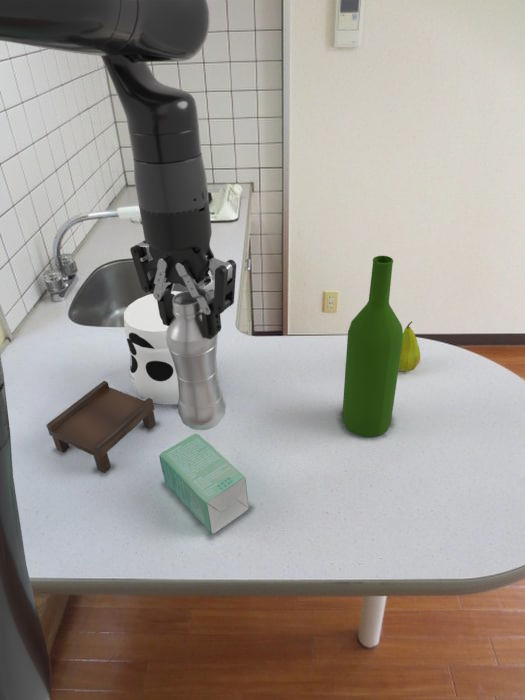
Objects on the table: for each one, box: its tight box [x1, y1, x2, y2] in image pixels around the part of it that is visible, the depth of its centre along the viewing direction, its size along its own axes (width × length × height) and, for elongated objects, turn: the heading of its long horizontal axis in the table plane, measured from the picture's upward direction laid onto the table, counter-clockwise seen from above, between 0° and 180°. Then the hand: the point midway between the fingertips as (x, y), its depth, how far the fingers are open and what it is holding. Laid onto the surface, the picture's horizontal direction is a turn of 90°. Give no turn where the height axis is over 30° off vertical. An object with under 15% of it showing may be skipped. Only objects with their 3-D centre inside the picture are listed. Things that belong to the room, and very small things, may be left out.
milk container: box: [123, 290, 182, 407], centre depth 103 cm, size 17×17×18 cm
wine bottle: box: [341, 255, 404, 438], centre depth 88 cm, size 9×9×32 cm
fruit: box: [398, 320, 421, 372], centre depth 107 cm, size 6×6×12 cm
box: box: [158, 433, 250, 535], centre depth 82 cm, size 7×14×8 cm, turn 41°
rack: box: [45, 380, 157, 474], centre depth 94 cm, size 14×12×6 cm
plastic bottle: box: [166, 290, 227, 431], centre depth 69 cm, size 6×7×20 cm
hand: (191, 328), depth 66 cm, fingers closed on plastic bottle, 6 cm apart
